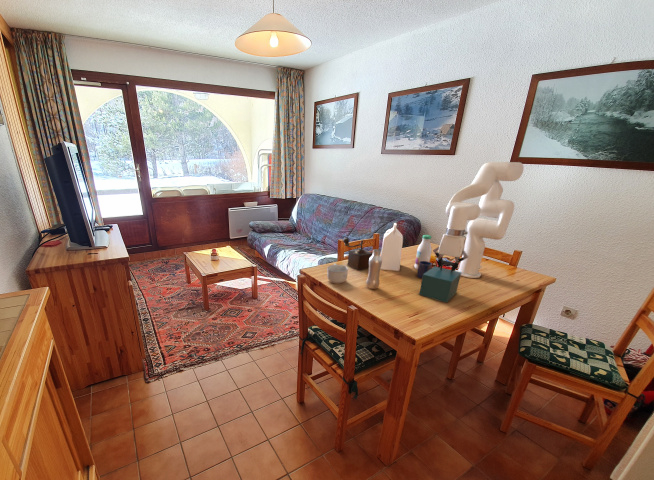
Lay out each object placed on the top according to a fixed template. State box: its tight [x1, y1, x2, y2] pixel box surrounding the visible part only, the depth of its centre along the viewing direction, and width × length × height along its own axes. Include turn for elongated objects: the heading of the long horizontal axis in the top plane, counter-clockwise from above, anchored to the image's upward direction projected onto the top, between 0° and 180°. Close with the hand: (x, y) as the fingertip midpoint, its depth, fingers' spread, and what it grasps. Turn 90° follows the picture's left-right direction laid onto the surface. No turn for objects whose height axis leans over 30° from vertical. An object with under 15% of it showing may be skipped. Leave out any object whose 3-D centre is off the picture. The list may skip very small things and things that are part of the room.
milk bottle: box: [413, 234, 433, 270], centre depth 181 cm, size 8×8×20 cm
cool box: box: [419, 275, 462, 304], centre depth 149 cm, size 15×13×10 cm
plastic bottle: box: [365, 248, 382, 290], centre depth 154 cm, size 6×7×20 cm
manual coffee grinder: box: [342, 237, 373, 271], centre depth 183 cm, size 16×11×18 cm
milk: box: [380, 222, 404, 272], centre depth 182 cm, size 12×12×26 cm
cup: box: [416, 261, 433, 279], centre depth 171 cm, size 7×7×8 cm
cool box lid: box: [423, 259, 462, 283], centre depth 147 cm, size 16×13×5 cm
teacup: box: [326, 263, 349, 284], centre depth 165 cm, size 14×11×8 cm
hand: (446, 268), depth 151 cm, fingers open, 6 cm apart
